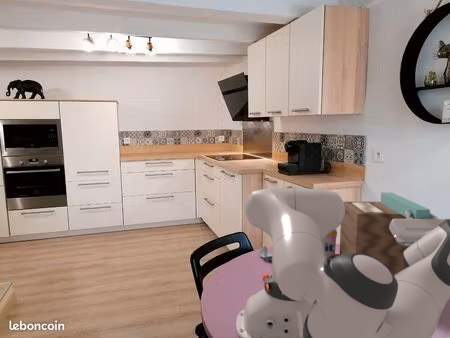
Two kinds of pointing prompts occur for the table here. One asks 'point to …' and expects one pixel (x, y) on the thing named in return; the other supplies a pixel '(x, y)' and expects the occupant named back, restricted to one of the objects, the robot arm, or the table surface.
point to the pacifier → (265, 253)
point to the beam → (404, 206)
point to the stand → (371, 233)
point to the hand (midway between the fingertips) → (416, 211)
